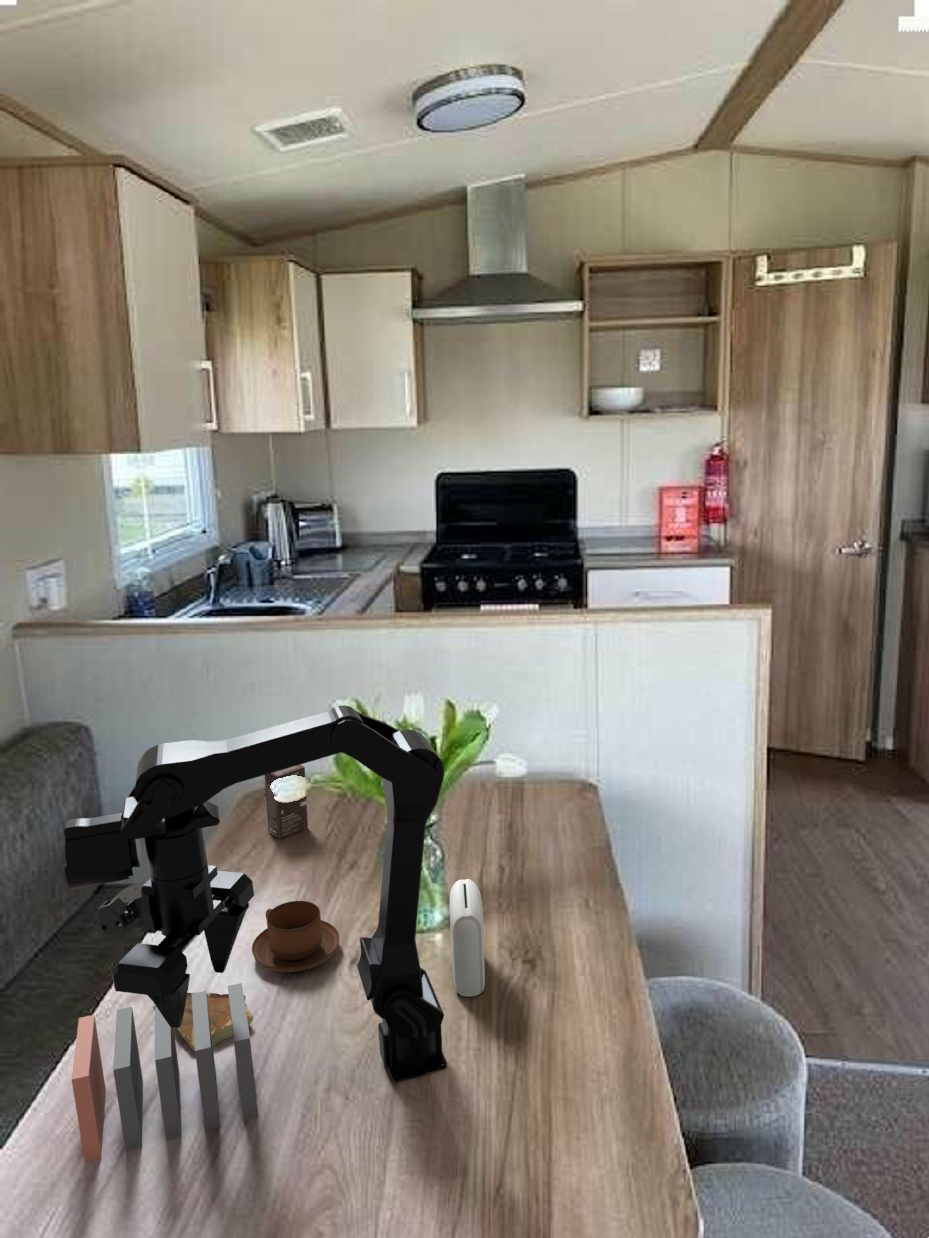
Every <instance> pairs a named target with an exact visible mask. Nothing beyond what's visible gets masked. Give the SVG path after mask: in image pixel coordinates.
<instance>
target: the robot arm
mask: <svg viewBox="0 0 929 1238" xmlns="http://www.w3.org/2000/svg"><path fill="white" fill-rule="evenodd" d="M338 754H345V755H346V756H348V757H350V758H353V759H354V760H356V761H357V762H359V763H360V764H361V765H363V766H364V767H366V768H367V769H369V771H371V772H374V773H375V775H377V776H378V777H380V778H381V783H382V788H383V794H384V795H383V796H384V799H385V805H386V811H387V813H386V814H387V816H386V826H385V838H384V850H383V851H384V852H383V865H382V877H381V887H380V888H381V889H380V900H379V911H378V923H377V927H376V930H375V931H374V933H373V934H372V937H361V936H360V937H359V944H360V956H359V960H358V962H357V963H356V967H357V971H358V975H359V978H360V980H361V984H362V987H363V992H364V994H365V995H364V996H365V998H366V1001H370V1003H371V1005H372V1009H373V1011H374V1013H375V1015H377V1016H378V1017H379V1018H381V1020H382V1022H379V1023H378V1025H377V1030H378V1043H379V1054H380V1057H381V1060H382V1063H383V1065H384V1067H385V1068H387V1069H388V1071H389V1074H390V1078H391V1080H392V1081H393V1082H401V1081H403V1080H408V1079H411V1078H415V1077H419V1076H423V1075H427V1074H431V1073H435V1072H438V1071H442V1070H445V1069H447V1068H448V1062H447V1059H446V1057H445V1055H444V1053H443V1039H442V1038H443V1037H442V1036H443V1035H442V1023H443V1020H444V1017H445V1014H444V1012H443V1009H442V1007H441V1005H440V1002H439V999H438V997H437V995H436V992H435V990H434V987H433V985H432V982H431V980H430V977H429V976H428V973H427V971H426V970H425V969H424V968H422V967H421V964H420V960H419V957H420V956H419V951H418V948H417V947H418V946H417V943H416V942H417V941H416V937H417V936H416V935H417V924H418V923H417V922H418V915H419V914H418V913H419V912H418V911H419V903H420V893H421V891H420V890H421V881H422V870H423V861H424V858H423V857H424V848H425V837H426V827H427V824H428V823H427V822H428V820H429V818H430V817H431V815H432V813H433V812H434V809H435V808H436V806H437V804H438V802H439V797H440V794H441V790H442V787H443V783H444V779H445V766H444V764H443V761H442V759H441V757H439V755H438V753H437V752H436V751H435V749H434V748H433V747H432V745H431V744H430V742H429V741H428V739H427V738H426V736H424V735H423V733H421V732H419V731H417V730H413V729H402V730H399V728H395V727H394V726H392V725H390V724H388V723H386V722H385V721H383V720H380V719H377V718H374V717H371V716H369V715H365V714H364V713H361V712H360V711H357V709H355V708H354V707H352V706H350V705H345V704H343V705H336V706H334V707H333V708H331V709H330V710H326V711H324V712H320V713H316V714H314V715H310V716H305V717H303V718H299V719H295V720H292V721H291V720H290V721H289V722H285V723H281V724H278V725H274V726H273V725H272V726H270V727H267V728H263V729H259V730H257V731H256V730H255V731H253V732H250V733H246V734H241V735H239V736H236V737H232V738H228V739H224V740H222V739H221V740H216V741H214V740H213V741H208V740H207V741H206V740H198V739H197V740H196V739H190V740H181V741H174V742H173V741H172V742H164V743H158V744H156V745H154V746H152V747H149V748H148V749H147V750H146V751H145V752H144V753H143V754H142V756H141V758H139V760H138V763H137V766H136V767H137V768H136V774H135V782H134V785H133V787H132V788H131V790H130V792H129V794H128V795H127V797H125V799H124V800H125V801H124V803H123V810H122V812H120V813H119V812H118V813H114V814H107V815H101V816H96V817H87V818H82V817H80V818H79V817H78V818H73V819H68V820H66V821H65V823H64V827H63V834H64V857H65V863H64V875H65V879H66V883H67V886H68V889H70V890H71V891H72V890H76V889H82V888H88V887H93V886H94V887H95V886H98V885H104V884H108V883H113V882H114V883H115V882H120V881H126V880H130V879H131V878H132V877H134V876H135V872H134V871H135V869H134V868H140V867H142V849H141V843H140V839H144V845H145V850H146V851H145V852H146V856H147V857H146V858H147V863H148V870H149V876H150V878H149V879H148V880H144V881H140V882H138V883H134V884H131V885H129V886H126V887H125V888H124V889H122V890H120V892H118V893H117V894H116V895H115V896H114V897H113V898H112V899H111V900H109V899H107V900H105V901H104V902H103V903H101V905H100V906H98V908H96V909H97V911H96V912H97V923H98V925H99V927H100V929H101V931H102V933H103V934H104V935H107V936H112V935H116V936H117V935H118V936H119V935H123V934H124V933H125V932H126V931H130V930H133V929H134V930H135V929H136V928H141V927H143V932H144V933H146V934H156V933H157V932H161V935H162V936H164V938H163V939H162V940H161V941H160V942H159V943H158V944H148V943H140V942H137V944H136V945H135V946H134V947H132V948H131V950H129V951H128V952H127V953H126V954H125V956H124V957H122V959H121V960H119V961H118V963H117V964H116V965H114V967H113V968H112V969H111V970H110V971H111V977H112V983H113V988H114V990H115V992H118V993H119V992H120V993H128V994H136V995H145V996H148V998H149V999H150V1000H151V1002H152V1003H153V1004H154V1006H155V1005H156V1007H157V1008H158V1010H159V1011H160V1013H161V1014H162V1016H163V1017H164V1019H165V1020H166V1021H167V1023H168V1024H169V1026H170V1027H172V1028H174V1029H177V1028H180V1026H181V1024H182V1020H183V1015H184V1010H185V1003H186V997H187V993H188V989H189V986H190V984H189V983H190V979H191V974H190V973H187V970H188V960H187V955H185V953H184V952H185V951H186V950H187V948H188V947H189V946H190V945H191V943H193V942H194V940H195V939H196V938H197V937H198V936H200V935H201V934H203V933H204V937H205V941H206V945H207V950H208V954H209V958H210V962H211V965H212V967H213V972H215V973H216V974H217V973H219V974H223V973H224V972H225V970H226V968H227V965H228V963H229V959H230V956H231V954H232V951H233V948H234V945H235V941H236V939H237V937H238V934H239V932H240V929H241V925H242V923H243V920H244V918H245V916H246V913H247V911H248V909H249V907H250V904H249V903H250V901H251V900H252V899H253V898H254V896H255V891H254V883H253V880H252V879H251V878H250V877H249V876H248V875H247V874H246V873H245V872H237V871H236V872H235V871H234V872H233V871H223V870H218V868H217V865H209V864H208V858H207V851H206V843H205V842H206V841H205V837H204V836H205V835H204V828H209V827H214V826H215V827H217V826H218V825H219V824H220V823H221V822H220V818H221V817H220V808H219V806H218V805H216V804H214V803H213V802H211V801H209V800H211V799H212V798H214V797H215V796H216V795H218V794H219V793H220V792H222V791H223V790H225V789H227V788H229V787H231V786H233V785H235V784H239V783H242V782H246V781H249V780H252V779H256V778H259V777H263V776H265V775H266V774H270V773H273V772H277V771H280V770H284V769H287V768H290V767H294V766H297V765H304V764H308V763H310V762H314V761H317V760H321V759H324V758H327V757H328V758H329V757H331V756H335V755H338Z"/></svg>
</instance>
